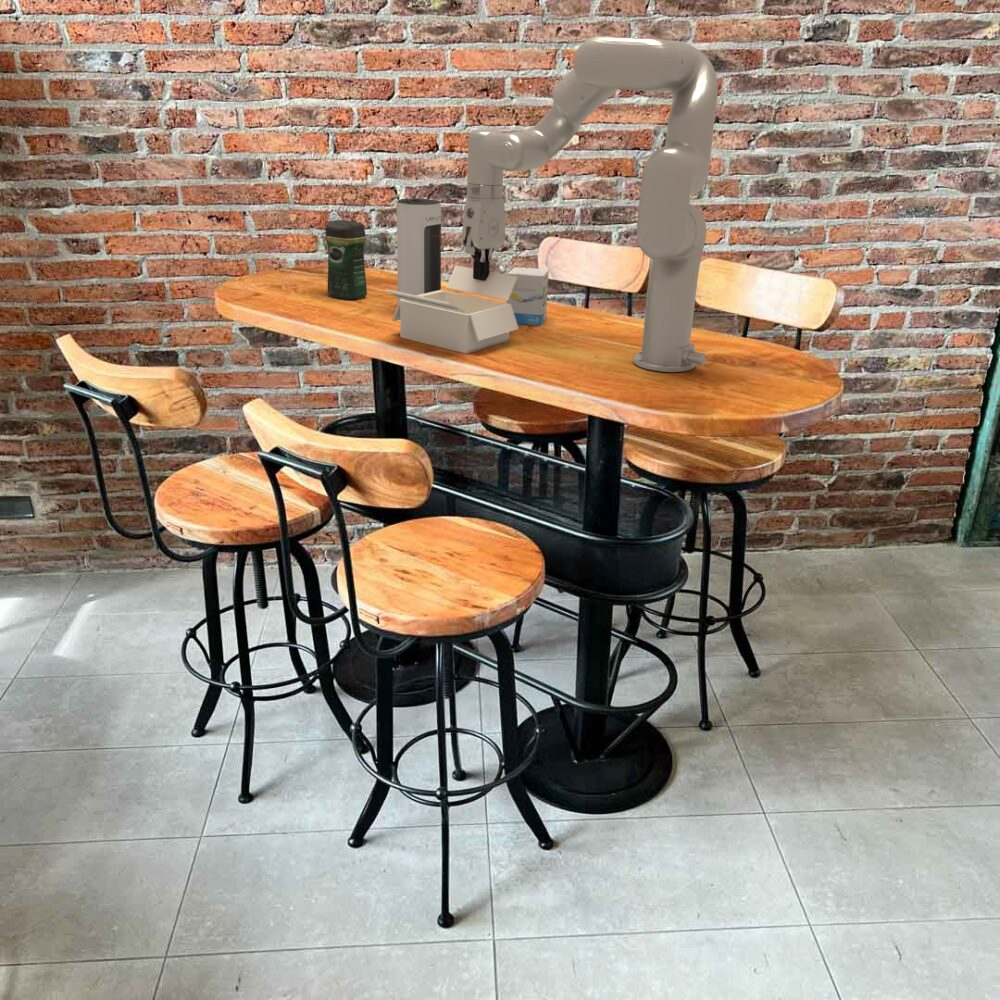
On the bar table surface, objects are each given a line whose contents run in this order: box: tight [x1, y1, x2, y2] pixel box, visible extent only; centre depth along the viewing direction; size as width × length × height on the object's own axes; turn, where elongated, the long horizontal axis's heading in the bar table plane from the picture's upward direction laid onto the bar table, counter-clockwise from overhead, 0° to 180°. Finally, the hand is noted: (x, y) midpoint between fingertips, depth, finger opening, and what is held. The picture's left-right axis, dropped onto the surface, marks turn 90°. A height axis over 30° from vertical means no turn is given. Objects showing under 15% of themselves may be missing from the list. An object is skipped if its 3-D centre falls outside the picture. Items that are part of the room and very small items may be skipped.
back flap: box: [445, 264, 518, 302], centre depth 213 cm, size 17×1×6 cm
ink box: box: [505, 266, 550, 327], centre depth 227 cm, size 8×8×12 cm
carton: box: [392, 289, 519, 355], centre depth 210 cm, size 24×14×8 cm, turn 53°
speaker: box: [396, 197, 442, 304], centre depth 228 cm, size 11×10×26 cm
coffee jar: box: [324, 219, 368, 300], centre depth 242 cm, size 10×8×19 cm
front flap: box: [385, 288, 465, 313], centre depth 200 cm, size 17×1×6 cm
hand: (480, 279), depth 213 cm, fingers closed
